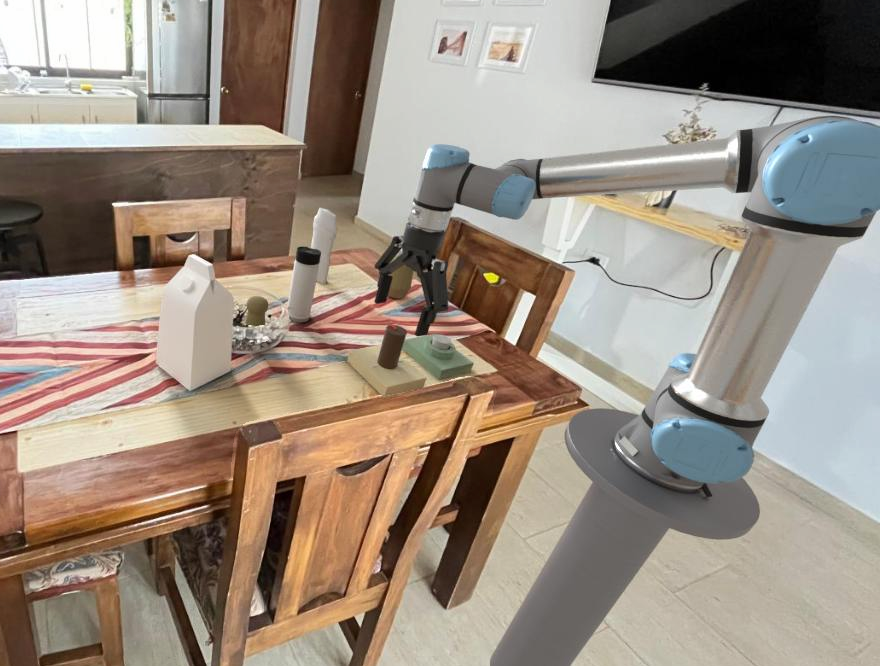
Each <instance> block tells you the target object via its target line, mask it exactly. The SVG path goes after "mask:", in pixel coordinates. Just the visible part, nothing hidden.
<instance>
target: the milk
mask: <svg viewBox="0 0 880 666" xmlns="http://www.w3.org/2000/svg"><path fill="white" fill-rule="evenodd" d="M234 305H235V299H234V296H233V294H232V293H231V291H229V290H228V288H226V287H225V286H224V285H222V284H221V283H220V282H219V281H218V280H217V279H216V274H215V268H214V265H213V263H211V262H209V261H207V260H205V259H203V258H202V257H200V256H198V255H197V254H195V253H193V254H189V255H188V256H187V258H186V260H185V263H184V266H182V267H181V268H180V270H178V272H177V273H176V274H175V275H173V277H172V278H171V279H170V280H169V281H168V282H167V283H166V285H165V286H164V288H163V289H162V291H161V298H160V311H159V322H158V333H157V343H156V353H155V364H156V365H157V366H158V367H159V368H160V369H162V370H163V371H165V372H166V373H167V374H168V375H169V376H170V377H172V378H173V379H174V380H176V381H177V382H178V383H179V384H181V385H182V386H183V387H184V388H185V389H187V391H189V392H191V391H193V390H196V389H197V388H199V387H202V386H204V385H206V384H208V383H210V382H211V381H214V380H216V379H217V378H220V377H221V376H223V375H225V374H227V373H230V372H231V371H232V350H233V327H234V308H235V307H234Z"/></svg>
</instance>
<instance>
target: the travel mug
mask: <svg viewBox="0 0 880 666" xmlns="http://www.w3.org/2000/svg"><path fill="white" fill-rule="evenodd" d="M320 257H321V251H320V250H318V249H312V248H311V247H309V246H297V248H296V253H295V257H294V263H293V270H292V275H291V281H290V288H289V293H288V301H287V307H286V312H287V313H288V315H289V319H288V320H290V321H292V322H295V323H306V322H308V321H310V318H311V313H312V306H313V301H314V296H315V290H316V285H317V281H316V280H317V275H318V269H319V264H320Z"/></svg>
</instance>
